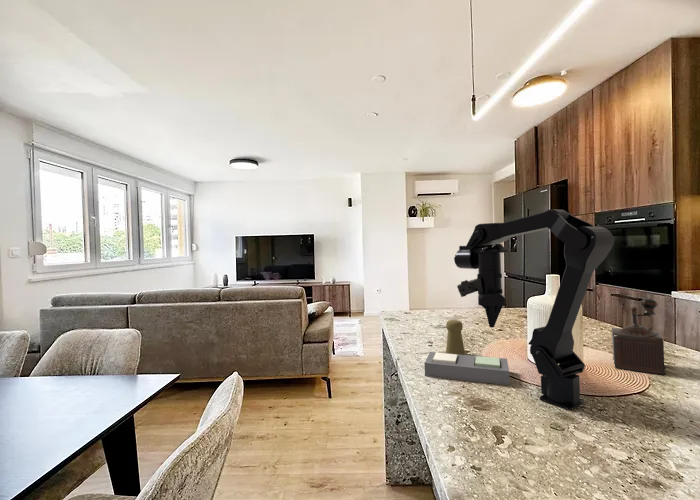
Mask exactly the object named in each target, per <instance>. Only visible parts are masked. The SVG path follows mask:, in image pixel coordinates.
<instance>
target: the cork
mask: <svg viewBox="0 0 700 500" xmlns="http://www.w3.org/2000/svg"><path fill="white" fill-rule="evenodd" d="M445 327H446V330H447V339H446V348H445V353H447V354H458V355H466V352H465V345H464V341H463V336H462V335H463V334H462V330H463V327H464V326H463V323H462V321H461V320H458V319H449V320H448V321H446V323H445Z"/></svg>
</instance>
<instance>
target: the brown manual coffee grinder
mask: <svg viewBox="0 0 700 500" xmlns="http://www.w3.org/2000/svg"><path fill="white" fill-rule="evenodd" d="M639 306H640V307H642V309H643V312H642V313H638V312H637V310H638V308H637V307H636V306H632V307H631V308H630V311H631V313H630V316H631V317H632V324H631V325H627V326H623V327H621V328H618V327H617V328H616V327H611V339H612V340H611V341H612V344H611V345H612V361H613V360H614V363H613V365H614V364H615V366H614V368H615V369H616V368H619V369H618V370H622V369H624V371H628V370H630V371H629V372H638V373H644V374H651V375H658V376H666V372H665V370H667V367H666V365H665V349H664V345H665V343H664V341H663V340H664V339H663V337H662V336H661V335H660V333H659V332H658V331H656V330H652V328H653V326H650V328H648V327H645V326H643V325H639V324H638V318H641V317H642V318H643V317H648V318H649V317H651V316H655V315H656V312H655V310H656V308H657V307H658V306H659V304H658V301H657V300H654V299H652V298H643V299H641V300H640V301H639Z"/></svg>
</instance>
